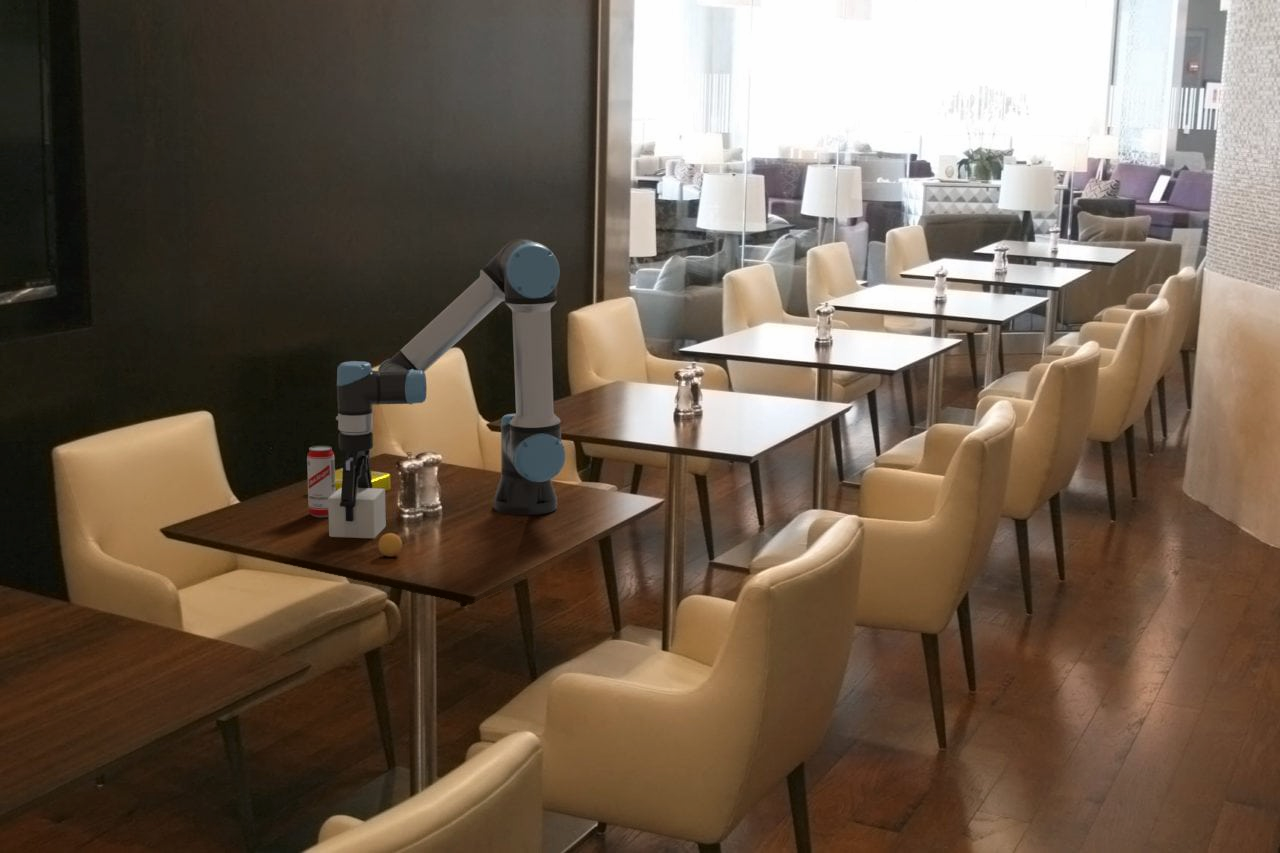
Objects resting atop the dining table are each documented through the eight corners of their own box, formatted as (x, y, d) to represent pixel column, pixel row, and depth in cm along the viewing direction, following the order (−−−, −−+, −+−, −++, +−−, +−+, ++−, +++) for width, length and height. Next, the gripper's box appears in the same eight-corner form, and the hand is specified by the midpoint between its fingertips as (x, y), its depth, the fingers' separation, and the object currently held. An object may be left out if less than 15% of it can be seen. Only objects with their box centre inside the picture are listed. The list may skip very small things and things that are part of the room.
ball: (404, 553, 320) (404, 530, 319) (399, 560, 316) (398, 537, 315) (381, 552, 321) (381, 529, 320) (375, 559, 316) (375, 536, 315)
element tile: (308, 495, 370) (307, 476, 369) (345, 483, 383) (344, 464, 382) (357, 503, 363) (357, 484, 362) (393, 490, 376) (393, 471, 376)
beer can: (332, 518, 347) (330, 451, 344) (305, 517, 347) (303, 450, 344) (338, 511, 353) (336, 445, 350) (312, 511, 354) (310, 444, 350)
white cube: (385, 526, 341) (385, 488, 340) (374, 538, 331) (373, 499, 330) (342, 524, 342) (341, 487, 340) (329, 536, 332) (328, 498, 330)
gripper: (352, 420, 344) (355, 514, 348) (324, 441, 321) (326, 541, 326) (384, 421, 343) (386, 515, 347) (358, 442, 321) (360, 542, 325)
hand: (357, 527), depth 337 cm, fingers closed on white cube, 10 cm apart
